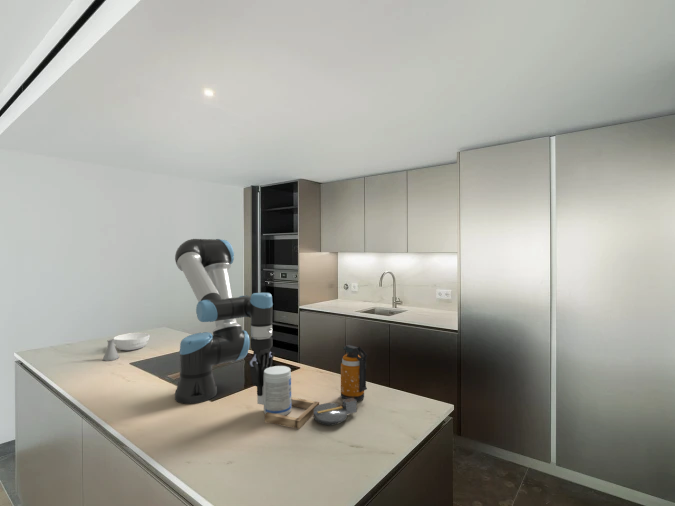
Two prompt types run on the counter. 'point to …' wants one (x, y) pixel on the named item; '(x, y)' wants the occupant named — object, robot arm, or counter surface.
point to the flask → (110, 351)
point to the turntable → (334, 411)
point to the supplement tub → (277, 390)
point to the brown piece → (291, 420)
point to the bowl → (131, 341)
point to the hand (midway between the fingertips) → (261, 403)
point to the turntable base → (329, 424)
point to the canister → (353, 373)
